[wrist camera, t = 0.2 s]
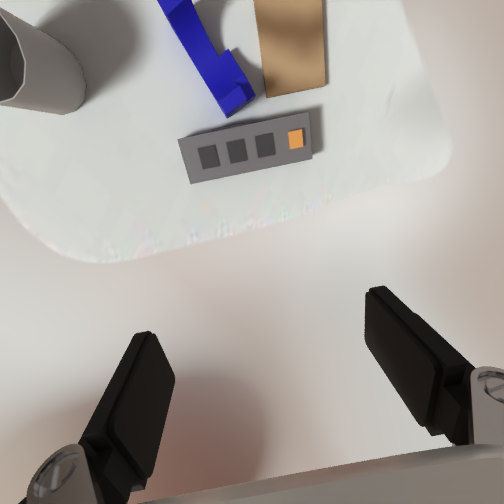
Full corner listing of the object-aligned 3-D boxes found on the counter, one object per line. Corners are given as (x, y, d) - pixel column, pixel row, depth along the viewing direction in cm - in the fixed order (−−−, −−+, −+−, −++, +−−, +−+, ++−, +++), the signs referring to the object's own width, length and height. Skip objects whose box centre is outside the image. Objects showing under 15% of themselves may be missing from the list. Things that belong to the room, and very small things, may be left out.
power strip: (193, 181, 37) (189, 184, 34) (181, 137, 35) (175, 136, 31) (306, 157, 37) (313, 159, 34) (302, 111, 34) (310, 108, 31)
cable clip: (253, 98, 33) (257, 90, 28) (227, 118, 34) (225, 114, 29) (199, -1, 29) (191, -35, 23) (170, 25, 29) (156, -2, 24)
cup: (19, 105, 32) (-67, 91, 22) (6, 26, 28) (-100, -28, 19) (88, 120, 33) (33, 112, 24) (83, 46, 30) (17, 3, 20)
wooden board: (247, -45, 27) (248, -50, 26) (316, -59, 27) (319, -65, 26) (266, 98, 33) (267, 97, 32) (323, 86, 33) (325, 85, 32)
